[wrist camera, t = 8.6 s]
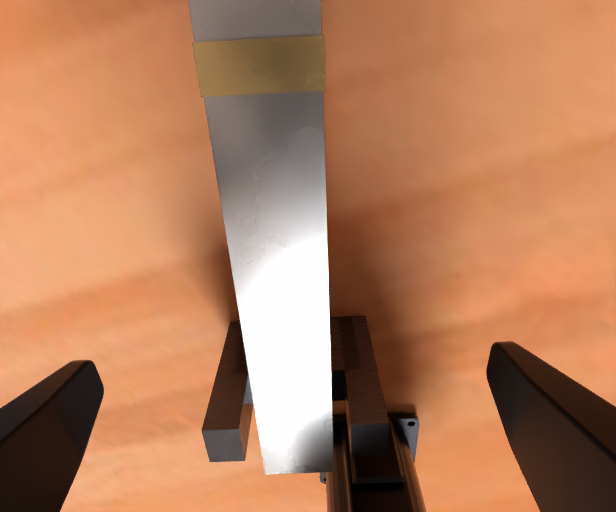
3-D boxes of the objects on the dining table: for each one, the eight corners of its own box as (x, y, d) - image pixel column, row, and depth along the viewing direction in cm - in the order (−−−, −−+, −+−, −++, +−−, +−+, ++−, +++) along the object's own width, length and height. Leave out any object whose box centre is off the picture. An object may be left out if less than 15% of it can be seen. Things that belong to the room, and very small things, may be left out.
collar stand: (364, 343, 23) (386, 455, 17) (235, 349, 23) (209, 462, 17) (376, -116, 13) (437, -248, 7) (155, -102, 13) (29, -221, 7)
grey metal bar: (331, 413, 20) (335, 472, 17) (269, 416, 20) (263, 475, 17) (312, -224, 9) (314, -330, 7) (182, -215, 10) (133, -317, 7)
